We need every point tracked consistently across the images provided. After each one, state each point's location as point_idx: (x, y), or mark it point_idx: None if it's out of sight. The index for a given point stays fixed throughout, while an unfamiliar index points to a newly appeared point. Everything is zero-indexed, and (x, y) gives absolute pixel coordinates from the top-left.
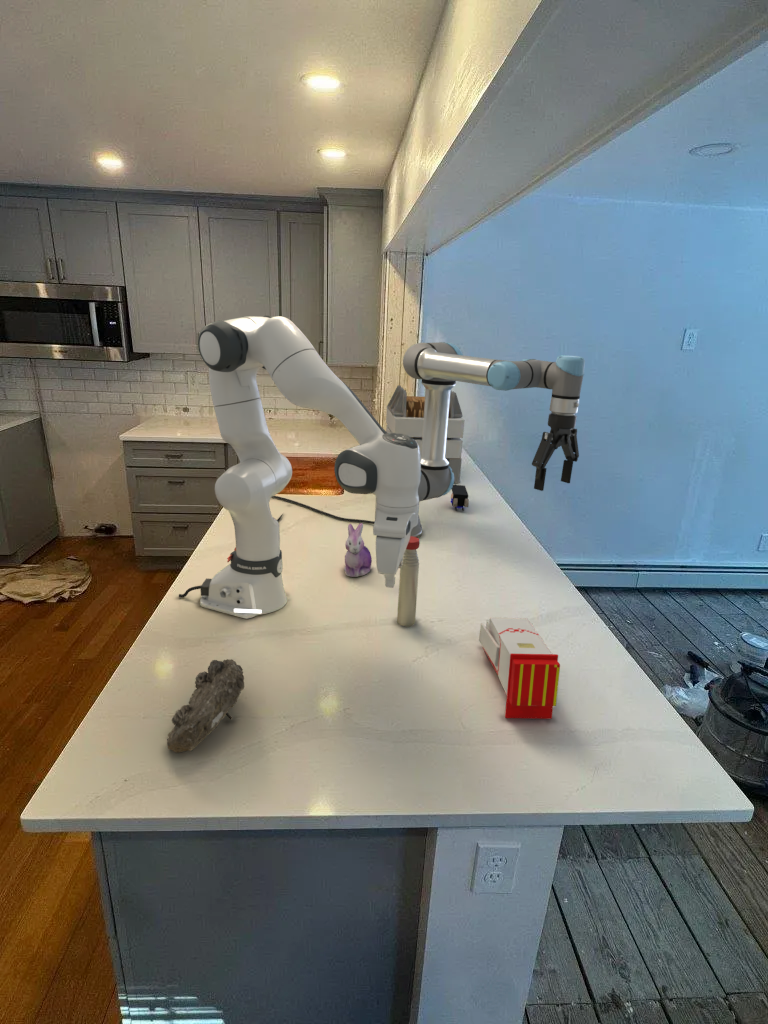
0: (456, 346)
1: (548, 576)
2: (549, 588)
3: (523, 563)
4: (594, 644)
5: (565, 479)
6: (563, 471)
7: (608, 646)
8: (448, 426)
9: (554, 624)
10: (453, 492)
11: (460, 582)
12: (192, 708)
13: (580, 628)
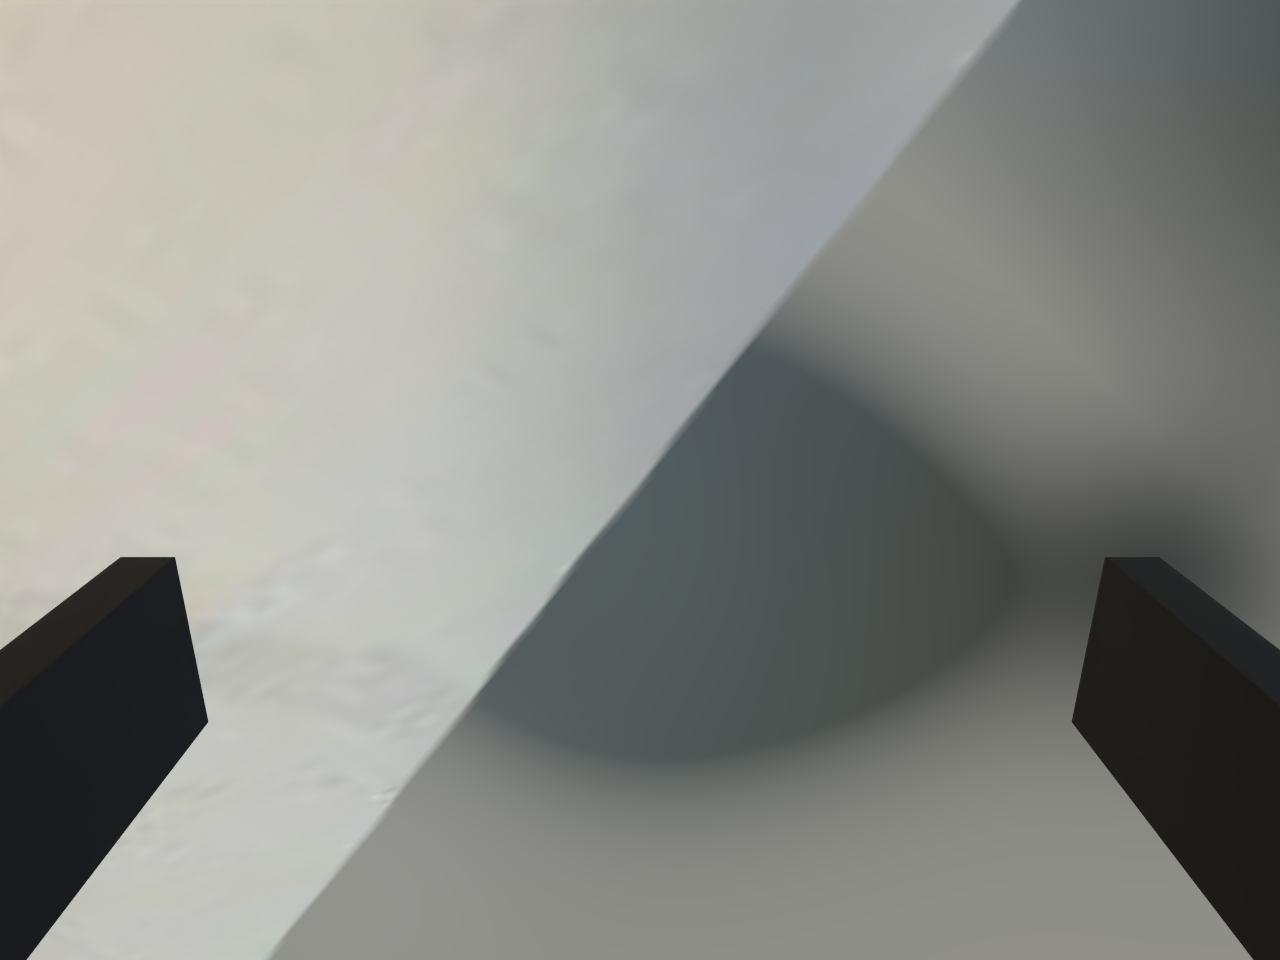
0: None
1: (640, 387)
2: (500, 485)
3: (676, 145)
4: (233, 878)
5: (1117, 687)
6: (1243, 720)
7: (274, 912)
8: None
9: None
10: None
11: (19, 68)
12: None
13: (287, 790)
